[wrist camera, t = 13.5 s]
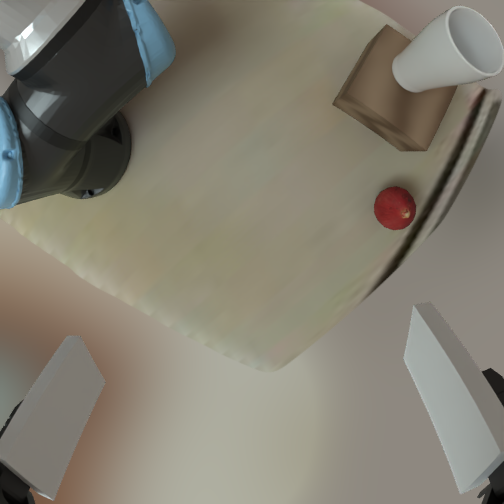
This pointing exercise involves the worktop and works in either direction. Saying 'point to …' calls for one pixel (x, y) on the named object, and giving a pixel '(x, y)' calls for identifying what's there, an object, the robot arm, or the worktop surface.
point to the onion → (395, 208)
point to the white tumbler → (450, 52)
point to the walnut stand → (392, 97)
